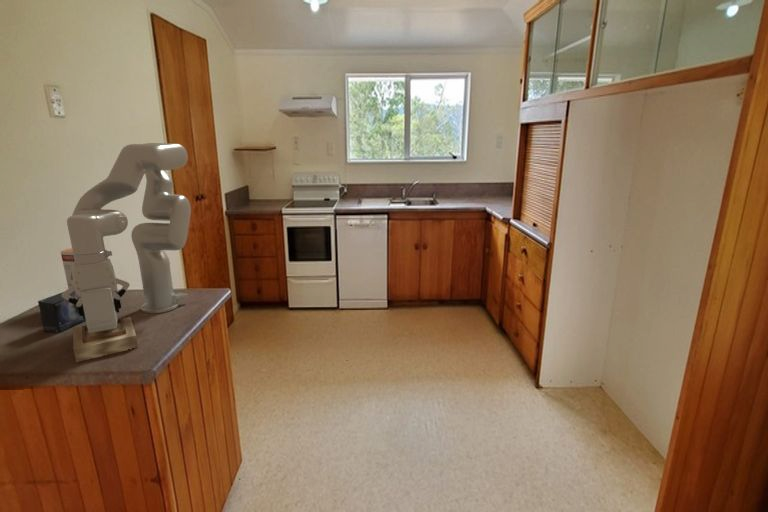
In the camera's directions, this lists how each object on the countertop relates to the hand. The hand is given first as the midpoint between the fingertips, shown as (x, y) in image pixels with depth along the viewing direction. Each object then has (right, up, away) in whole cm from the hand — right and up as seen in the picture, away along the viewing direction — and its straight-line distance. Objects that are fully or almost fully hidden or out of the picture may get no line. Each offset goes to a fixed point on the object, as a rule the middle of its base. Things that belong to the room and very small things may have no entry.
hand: (101, 313), depth 122 cm
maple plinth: (0, -9, +3) cm, 10 cm away
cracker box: (-25, -1, +33) cm, 41 cm away
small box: (-21, -6, +14) cm, 26 cm away
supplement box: (0, -4, +1) cm, 4 cm away
